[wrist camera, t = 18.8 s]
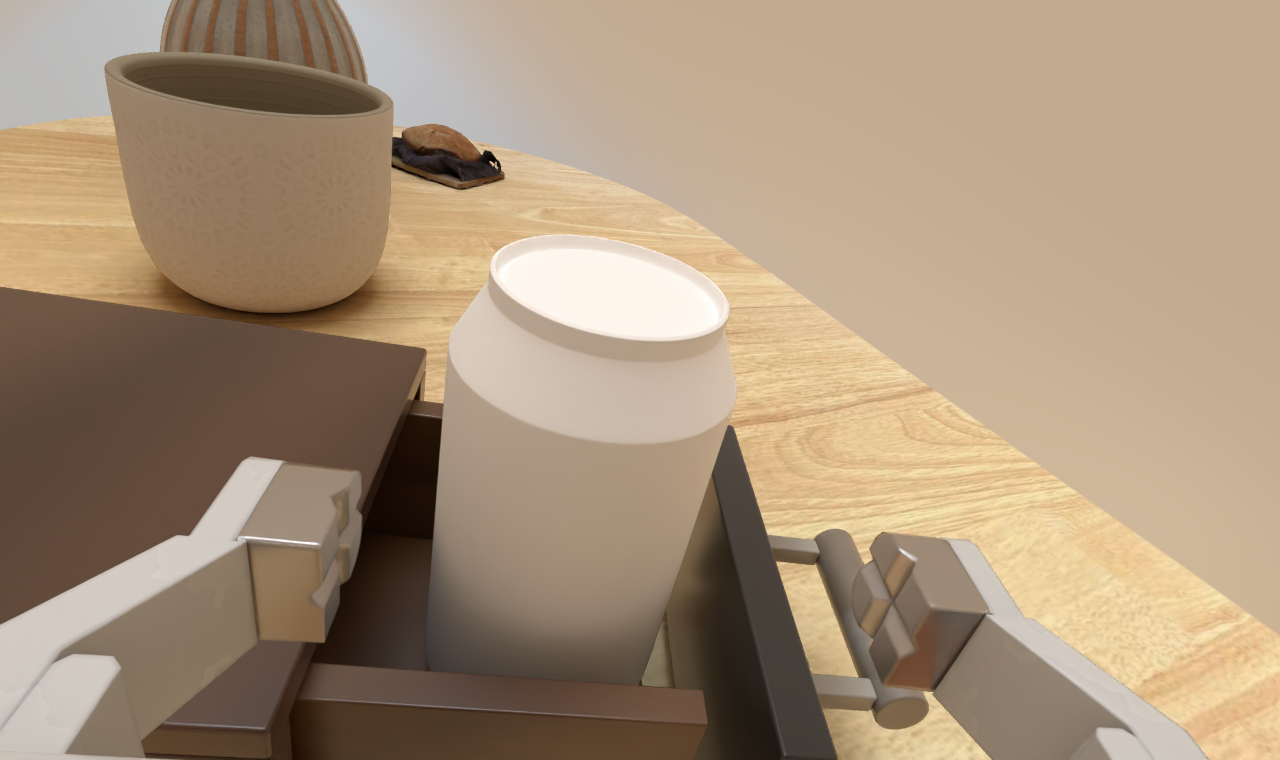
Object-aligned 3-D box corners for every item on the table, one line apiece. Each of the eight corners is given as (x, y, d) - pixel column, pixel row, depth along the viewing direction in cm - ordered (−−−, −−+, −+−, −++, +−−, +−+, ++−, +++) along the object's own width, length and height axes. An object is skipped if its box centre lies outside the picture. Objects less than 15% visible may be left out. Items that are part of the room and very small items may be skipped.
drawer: (791, 568, 27) (849, 440, 24) (908, 911, 17) (1030, 771, 14) (346, 522, 24) (345, 371, 21) (186, 898, 14) (139, 722, 11)
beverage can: (393, 613, 20) (410, 222, 14) (577, 554, 24) (652, 221, 18) (473, 811, 16) (544, 380, 10) (681, 705, 20) (824, 338, 14)
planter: (390, 250, 47) (394, 80, 41) (387, 340, 37) (392, 131, 31) (176, 232, 42) (149, 39, 37) (106, 328, 32) (56, 84, 27)
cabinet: (416, 535, 26) (427, 347, 21) (292, 952, 15) (268, 733, 11) (4, 494, 23) (-70, 275, 19) (-492, 948, 13) (-894, 669, 9)
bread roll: (361, 157, 63) (361, 116, 61) (423, 147, 70) (424, 109, 68) (456, 192, 60) (459, 149, 58) (511, 177, 67) (515, 139, 65)
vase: (129, 180, 47) (78, -126, 39) (250, 145, 59) (232, -97, 50) (309, 227, 47) (299, -71, 38) (396, 183, 59) (403, -54, 50)
